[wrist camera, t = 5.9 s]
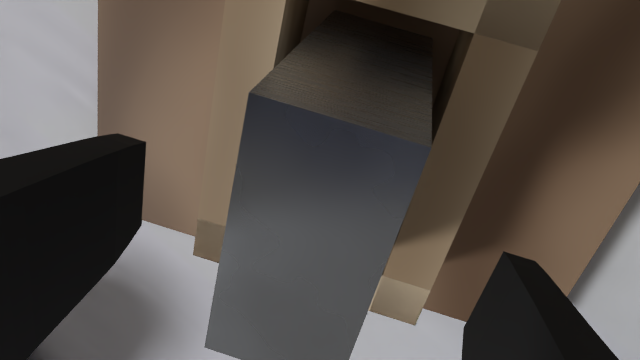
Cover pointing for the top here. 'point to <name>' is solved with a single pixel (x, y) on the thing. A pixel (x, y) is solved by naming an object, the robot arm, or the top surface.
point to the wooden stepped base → (447, 126)
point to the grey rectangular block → (321, 190)
